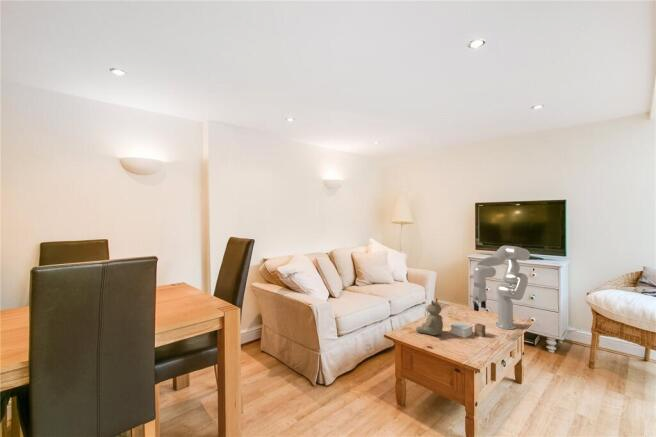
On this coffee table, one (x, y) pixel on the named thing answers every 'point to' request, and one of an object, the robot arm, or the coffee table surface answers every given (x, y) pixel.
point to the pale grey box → (461, 329)
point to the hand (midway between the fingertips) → (479, 309)
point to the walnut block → (480, 330)
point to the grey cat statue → (432, 320)
